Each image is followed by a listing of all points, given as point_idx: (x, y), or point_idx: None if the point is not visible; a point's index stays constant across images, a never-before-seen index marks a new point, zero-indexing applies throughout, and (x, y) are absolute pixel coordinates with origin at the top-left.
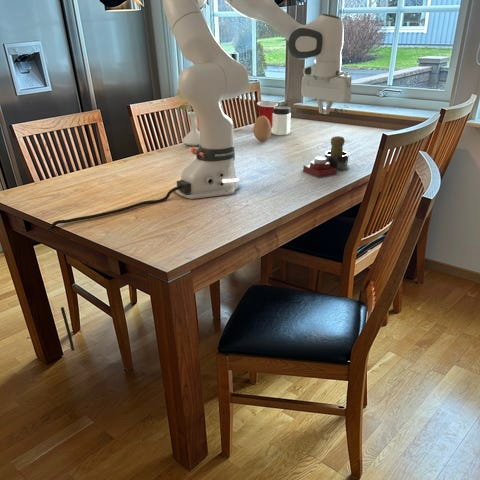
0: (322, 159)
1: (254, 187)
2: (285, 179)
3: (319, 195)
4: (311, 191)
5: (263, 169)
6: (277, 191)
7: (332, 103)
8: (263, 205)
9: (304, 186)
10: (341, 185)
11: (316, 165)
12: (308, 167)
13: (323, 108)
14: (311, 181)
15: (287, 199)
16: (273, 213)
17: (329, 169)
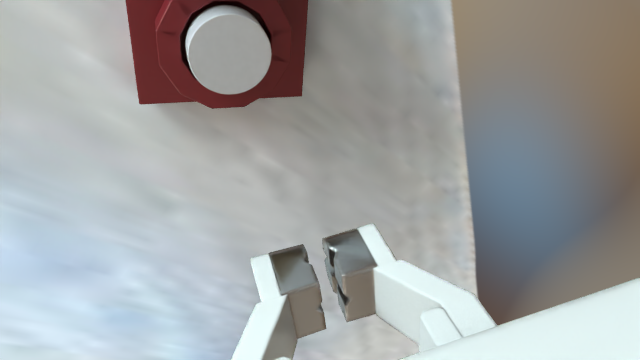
0: (262, 62)
1: None
2: (224, 224)
3: (454, 201)
4: (408, 205)
5: (3, 249)
6: (331, 295)
7: (472, 300)
8: (398, 353)
9: (349, 200)
10: (444, 64)
11: (258, 95)
12: (194, 101)
13: (316, 303)
14: (316, 145)
15: None
16: None
17: (301, 20)
